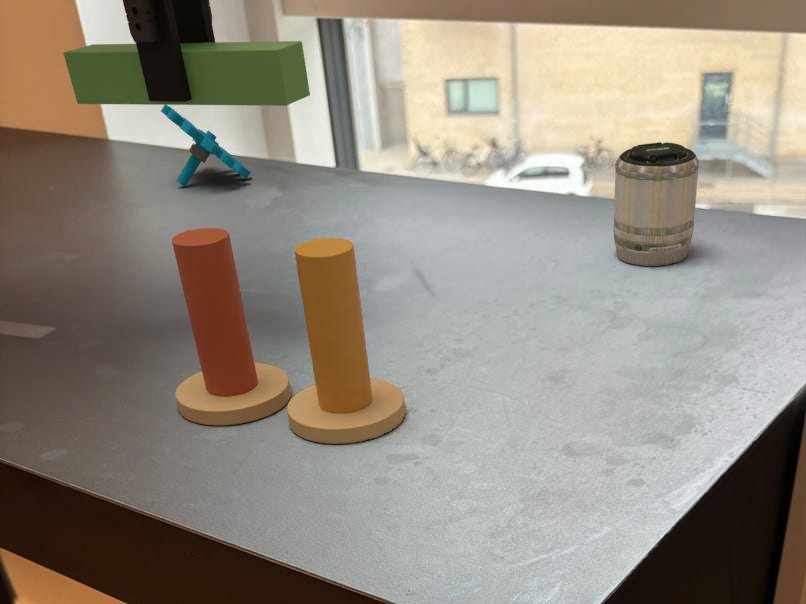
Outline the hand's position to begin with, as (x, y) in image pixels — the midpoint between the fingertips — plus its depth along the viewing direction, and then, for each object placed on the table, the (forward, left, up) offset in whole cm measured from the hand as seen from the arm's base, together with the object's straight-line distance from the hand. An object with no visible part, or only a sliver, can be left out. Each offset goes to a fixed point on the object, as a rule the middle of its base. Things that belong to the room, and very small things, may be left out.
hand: (187, 93), depth 65 cm
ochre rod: (+16, -12, -15) cm, 25 cm away
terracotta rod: (+8, -12, -15) cm, 21 cm away
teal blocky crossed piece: (-24, +33, -15) cm, 44 cm away
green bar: (0, 0, 0) cm, 0 cm away
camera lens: (+26, +21, -15) cm, 37 cm away
